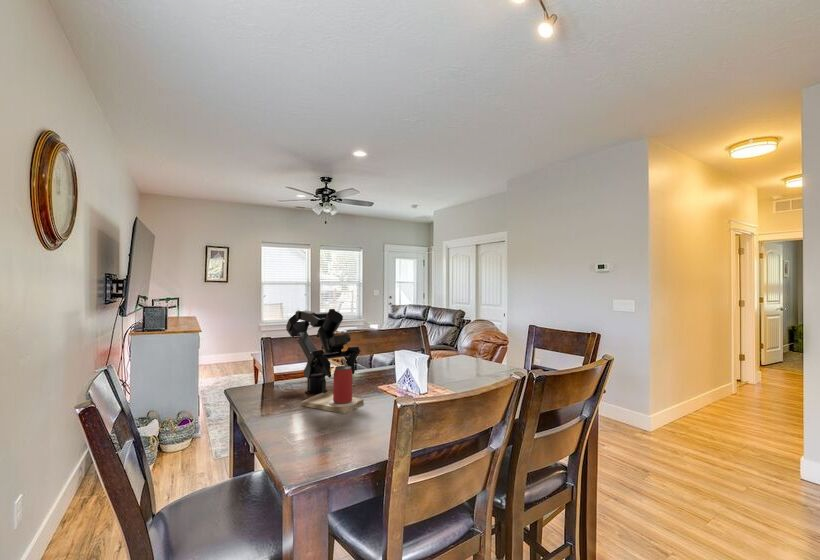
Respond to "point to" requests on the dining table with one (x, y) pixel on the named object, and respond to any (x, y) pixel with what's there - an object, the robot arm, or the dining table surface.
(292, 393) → the dining table surface
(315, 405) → the birch board
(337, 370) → the beer can
